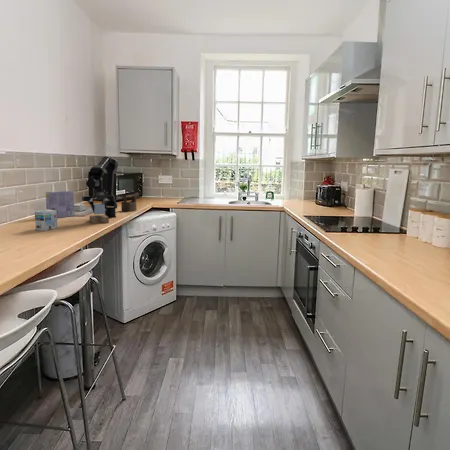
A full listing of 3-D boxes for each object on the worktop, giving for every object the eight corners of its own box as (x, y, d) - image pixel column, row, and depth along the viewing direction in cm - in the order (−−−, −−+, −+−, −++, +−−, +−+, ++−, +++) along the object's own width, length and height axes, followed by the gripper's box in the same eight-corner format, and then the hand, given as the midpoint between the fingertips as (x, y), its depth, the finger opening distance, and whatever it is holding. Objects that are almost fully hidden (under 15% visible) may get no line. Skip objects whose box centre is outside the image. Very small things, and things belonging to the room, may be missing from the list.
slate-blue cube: (102, 212, 238) (101, 203, 237) (104, 213, 233) (104, 204, 232) (92, 213, 234) (92, 203, 233) (95, 214, 229) (94, 205, 228)
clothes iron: (142, 209, 292) (142, 192, 290) (128, 212, 278) (128, 194, 276) (134, 208, 296) (134, 192, 293) (120, 211, 282) (120, 193, 279)
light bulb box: (45, 231, 203) (44, 212, 201) (35, 230, 204) (33, 211, 202) (58, 227, 213) (57, 209, 211) (48, 227, 215) (46, 209, 213)
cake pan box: (72, 214, 259) (71, 190, 256) (76, 215, 256) (75, 190, 253) (46, 218, 243) (44, 191, 240) (50, 219, 241) (48, 192, 237)
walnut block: (105, 220, 241) (105, 214, 241) (108, 223, 233) (108, 217, 232) (89, 221, 236) (89, 215, 236) (92, 224, 228) (92, 218, 227)
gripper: (85, 188, 219) (86, 214, 222) (116, 187, 229) (117, 212, 232) (81, 187, 228) (82, 211, 231) (111, 186, 238) (111, 209, 241)
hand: (98, 211), depth 233 cm, fingers closed on slate-blue cube, 6 cm apart
